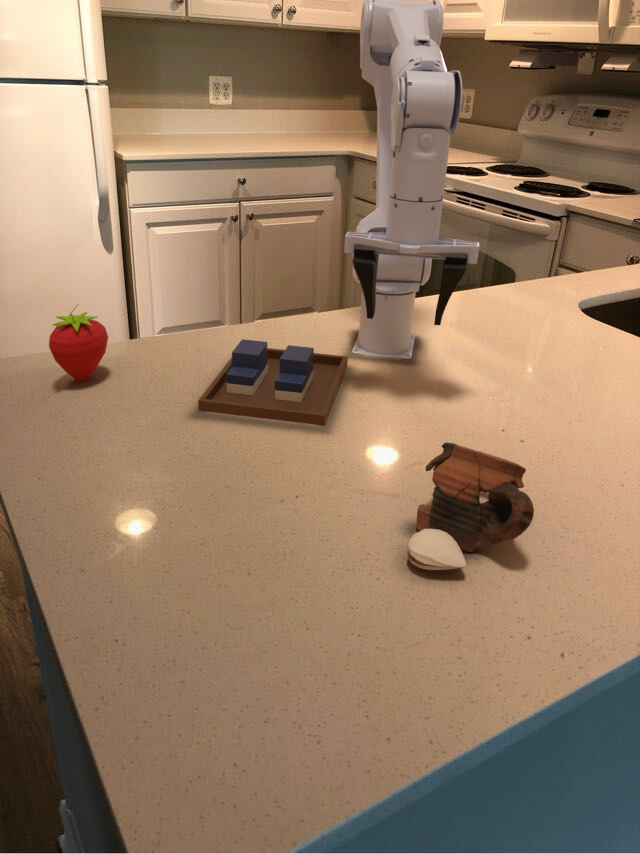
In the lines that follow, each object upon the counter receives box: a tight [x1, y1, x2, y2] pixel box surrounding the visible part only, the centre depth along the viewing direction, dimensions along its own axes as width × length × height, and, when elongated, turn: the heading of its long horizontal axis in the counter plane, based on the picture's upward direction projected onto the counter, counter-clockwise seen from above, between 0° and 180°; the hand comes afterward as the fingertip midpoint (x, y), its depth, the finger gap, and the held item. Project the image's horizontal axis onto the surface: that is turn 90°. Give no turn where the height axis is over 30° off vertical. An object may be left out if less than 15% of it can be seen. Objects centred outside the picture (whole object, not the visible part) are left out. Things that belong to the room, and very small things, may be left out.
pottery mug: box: [415, 441, 535, 553], centre depth 61 cm, size 12×10×8 cm
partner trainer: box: [227, 338, 268, 396], centre depth 85 cm, size 7×3×4 cm, turn 170°
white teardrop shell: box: [406, 529, 467, 571], centre depth 57 cm, size 4×5×2 cm
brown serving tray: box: [197, 347, 349, 426], centre depth 85 cm, size 17×14×2 cm
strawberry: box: [48, 303, 109, 382], centre depth 83 cm, size 6×8×10 cm
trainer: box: [275, 344, 315, 402], centre depth 84 cm, size 7×3×4 cm, turn 170°
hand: (403, 319), depth 82 cm, fingers open, 7 cm apart
